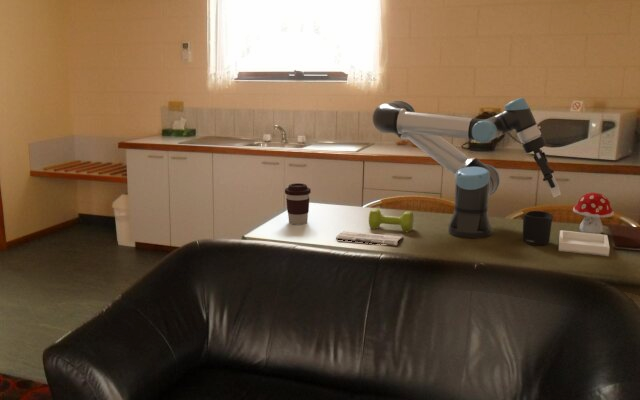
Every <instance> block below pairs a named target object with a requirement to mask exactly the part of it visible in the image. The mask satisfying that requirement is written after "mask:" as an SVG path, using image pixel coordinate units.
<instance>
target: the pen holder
mask: <svg viewBox="0 0 640 400" xmlns="http://www.w3.org/2000/svg"><path fill="white" fill-rule="evenodd" d="M522 217H523V218H522V242H523V243H525V244H527V245H530V246H547V245H549V243H550V237H551V233H552V232H551V231H552V224H553V218H554V217H553V214H552V213H550V212H547V211H539V210H529V211H528V212H525V213H524V214H523V216H522Z"/></svg>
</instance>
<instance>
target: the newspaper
mask: <svg viewBox="0 0 640 400" xmlns="http://www.w3.org/2000/svg"><path fill="white" fill-rule="evenodd" d="M335 239H336V241H338V242H344V241H343V240H345V242H346V243H347V242H348V243H353V242H352V241H355V242H356V243H360V244H364V243H363V242H365V243H369V242H370V243H369V245H373V244H372V243H377V244H378V243H379V244H380V245H381V244H387V245H389V246H398V245H399V243H398V241H399V240H401V239H404V236H399V235H389V234H378V233H377V234H376V233H369V232H359V231H358V232H355V231H346V230H344V231H342V232H340V233H339V234H337V235H336V237H335ZM338 239H342V240H338ZM348 240H351V241H348ZM358 241H361V242H358Z"/></svg>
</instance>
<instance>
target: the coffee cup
mask: <svg viewBox="0 0 640 400" xmlns="http://www.w3.org/2000/svg"><path fill="white" fill-rule="evenodd" d="M311 190H312V189H311V188H310V187H308V185H307V184H305V183H299V182H297V183H296V182H295V183H291V184H289V185H288V187H285V188H284V194H285V195H286V210H287V212H286V213H287V214H288V215H287V216H288V223H289V224H291V225H295V224H301V225H305V224H307V223H308V218H309V209H310V194H311Z"/></svg>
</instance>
